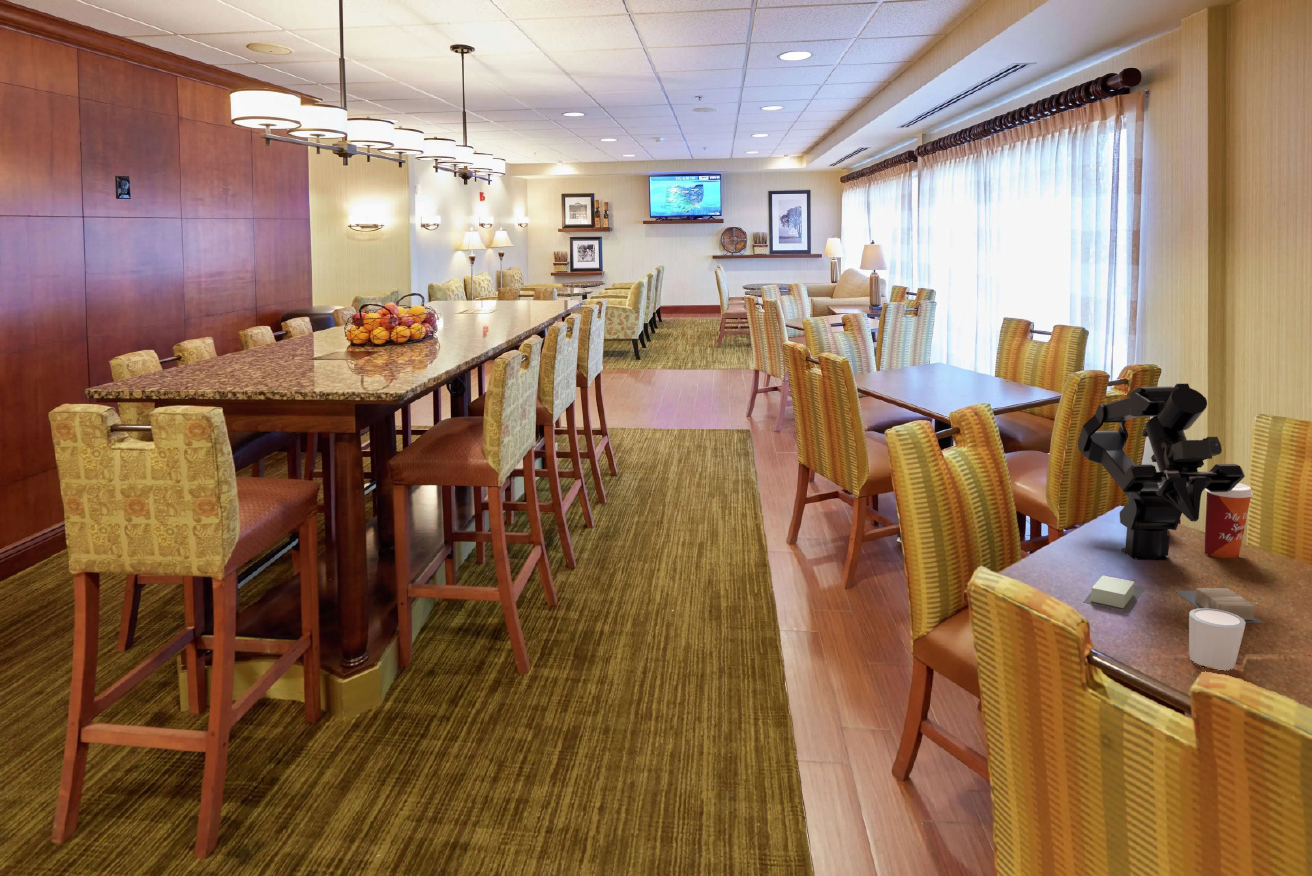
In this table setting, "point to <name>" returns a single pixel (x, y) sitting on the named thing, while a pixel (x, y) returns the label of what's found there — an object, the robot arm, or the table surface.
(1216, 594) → the cream tile
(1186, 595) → the pair of gray tiles
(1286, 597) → the table surface
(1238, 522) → the paper cup
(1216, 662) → the white cup
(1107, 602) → the sage tile
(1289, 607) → the table surface
